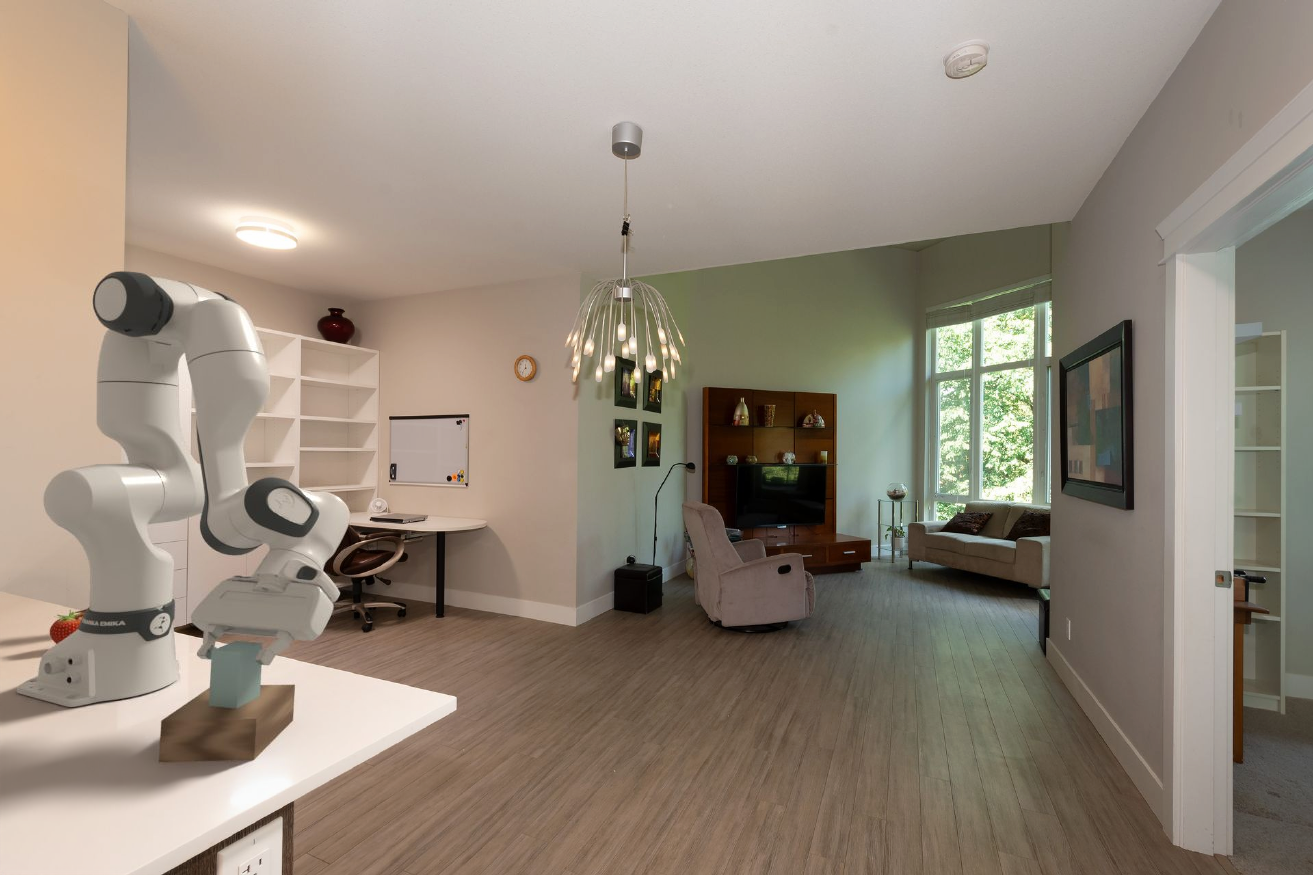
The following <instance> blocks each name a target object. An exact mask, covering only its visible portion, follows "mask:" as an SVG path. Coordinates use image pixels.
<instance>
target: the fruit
mask: <svg viewBox="0 0 1313 875" xmlns="http://www.w3.org/2000/svg"><path fill="white" fill-rule="evenodd" d="M71 611H72V610H71V609H69V613H68V615H61V614H56V616H53V617H55V618H58V619H57V620H55V621H54V622H53V624H52V625H51V626H50V628H49V636H50V637H49V638H51V640H52V641H53V642H54V644H55V645H56V644H58V643H59V642H61V641H62V640H64V639H65V638H67V637H68V636H69V635H71V634H72V633H74V632H75V631H76V630H78V626H79V624H80V622H81V620H82V617H80V618H74V617H76V616H78V615H80V614H82V613H83V612H81V613H75V611H72V612H71Z"/></svg>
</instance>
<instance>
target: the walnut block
mask: <svg viewBox="0 0 1313 875" xmlns="http://www.w3.org/2000/svg"><path fill="white" fill-rule="evenodd" d="M295 688H296V684H261V686H260V696H259V697H257V698H255V699H253V700H252V701H250V702H248V703H246V704H244V705H242V706H241V707H239V708H237V709H236V708H226V707H216V706H209V693H210V687H208V688H207V689H205V690H204V691H202V692H201V693H200V694H198V695H197V696H195V697H193V698H192V699H191V700H189V701H188V702H186V703H185V704H183V705H182V706H181V707H179V708H178V709H176V710H175V711H173V712H171V713H170V714H169V715H167V716H165V718H163V719H162V720H161V721H160V736H159V756H158V763H159V762H164V763H189V762H190V763H192V762H193V763H194V762H225V761H226V762H228V761H255V760H256V759H257V758H258V757H259V755H261V754H262V753H263V752H264V750H265V749H266V748H268V747H269V746H270V744H272V743H273V741H275V740H276V739H277V737H278V736H279V735H280V734H281V733H282V732H283V731H284V730H285V729H286V728H288V726H289V725H290V724H291V723H292V722H293V721H294V710H295V709H294V708H295V691H296V689H295Z"/></svg>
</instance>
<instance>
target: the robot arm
mask: <svg viewBox="0 0 1313 875" xmlns="http://www.w3.org/2000/svg"><path fill="white" fill-rule="evenodd" d="M92 307H93V310H94V313H95V314H94V315H95V316H96V317H97V320H98V322H100V323H101V325H103V327H105V329H106V328H107V331H106V332H105V333H104V336H103V340H102V343H101V347H100V352H99V356H98V362H97V371H96V426H97V427H98V429H99V431H100V432H101V433H102V434H103V435H104V436H106V437H108V438H109V439H112V440H113V441H115V442H117V443H118V444H119V445H120V446H121V448H122V449H123V451H124V452H125V455H126V457H127V461H128V463H104V464H103V463H100V464H98V463H97V464H92V465H91V464H90V465H86V466H85V465H84V466H80V467H75V468H72V469H71V468H70V469H66V470H63V471H61V472H59V473H57V474H55V476H54V477H52V479H51V480H50V481H49V482H48V484H47V485H46V488H45V490H44V493H43V507H44V510H45V513H46V515H47V516H48V517H49V518H50V520H51V521H52V522H53V523H54V524H55V525H57V526H59V527H61V528H62V529H63V530H66V531H68V532H69V533H70V534H71V535H73V536H74V537H75V539H76V540H78V542H79V544H80V545H81V546H82V548H83V550H84V552H85V554H86V557H87V560H88V565H89V580H90V581H89V607H87V608H85V609H80V610H78V611H74V614H79V613H81V612H83V613H82V614H80V615H78V616H76V617H74V618H80V617H82V620H81V622H80V624H79V626H78V630H76V631H75V632H74V633H72V634H71V635H69V636H68V637H67V638H65V639H64V640H62V641H61V642H59V643H58V644H56V643H55V645H53V646H52V647H51V648H49V649H48V650H46V651H45V652H44V653H43V654H42V656H41V659H40V661H39V666H38V671H37V672H38V673H37V676H34V677H33V678H30V679H28V680H26V681H24V682H22V683H21V684H19V685H18V686H17V688H16V691H15V692H16V693H17V694H20V695H24V696H27V697H31V698H34V699H38V700H42V701H44V702H50V703H53V704H57V705H60V706H64V707H69V708H74V707H81V706H86V705H89V704H93V703H99V702H107V701H114V700H120V699H121V700H122V699H126V698H130V697H136V696H140V695H145V694H148V693H152V692H154V691H157V690H160V689H162V688H165V687H167V686H169V685H171V684H173V683H174V682H176V681H177V680H178V679H179V678H180V672H179V667H180V661H179V660H177V655H176V654H177V653H176V642H175V629H174V625H173V622H174V620H175V617H176V616H175V614H176V609H177V608H176V600H175V599H174V598H173V592H174V573H175V560H174V558H173V556H172V554H171V553H169V552H168V551H166V550H165V549H163V548H160V547H159V546H155V545H154V544H153V543H152V541H151V539H150V537H149V533H148V525H152V524H154V525H155V524H163V523H169V522H178V521H181V520H185V519H188V518H192V517H195V516H197V515H200V514H201V515H200V520H199V530H200V534H201V538H202V539H203V540H204V542H205V544H207V545H208V546H209V547H210V548H211V549H212V550H214V551H216V552H218V553H220V554H223V555H226V556H227V555H228V556H243V555H247V554H249V553H251V552H253V551H254V550H257V549H258V548H259V547H261V546H262V545H263V544H265V545H267V546H268V547H269V551H268V553H266V555H265V557H264V558H263V559H262V561H261V562H260V564H259V565H258V566H257V568H256V569H255V571H254V572H253V573H252V575H251V576H242V575H233V576H231V577H229V578H227V579H223V580H222V581H220V583H219V584H217V585H216V586H215V587H214V588H213V589H212V590H211V591H210V592H209V593H208V594H207V595H206V596H205V597H204V599H202V601H200V603H199V604H198V605H197V606H196V607H195V609H194V610H193V611H192V612H191V616H190V618H191V619H190V620H191V623H192V624H193V625H194V626H196V628H198V629H199V630H201V631H202V632H203V635H202V638H203V639H202V644H201V645H200V647H199V649H198V650H197V652H196V656H197V657H198V658H199V659H201V660H207V661H208V660H209V661H210V660H211V655H212V650H214V649H217V648H218V647H215V645H216V640H217V639H218V640H219V639H221V638H222V636H223V635H224V634H230V635H241V636H252V637H262V638H273V639H275V640H274V641H273V642H272V643H271V644H270V645H269V646H268V647H266V648H262V649H261V650H260V651H259V653H258V655H257V656H256V658H255V661H256V662H257V663H258V664H260V665H262V666H270V665H271V664H272V662H273V660H274V659H275V657H276V656H278V654H280V653H281V652H283V651H284V650H286V649H287V648H288V647H289V646H290V645H291V643H292V642H293V640H295V641H304V642H305V641H306V642H313V641H314V640H316V639H317V638H319V637H320V636H321V635H322V633H323V632H324V630H325V629H326V626H327V624H328V622H329V620H330V618H331V616H332V614H333V611H334V603H336V601H338V599H339V597H340V595H341V592H340V590H339V588H338V587H337V585H336V584H335V582H334V581H333V580H332V579H331V578H330V576H329V575H328V574H327V573H326V572H325V571H324V568H325V566H326V563H327V561H328V560H329V559H331V557H333V556H334V554H335V553H336V551H337V549H338V547H339V546H340V544H341V542H342V541H343V539H344V536H345V534H346V532H347V530H348V527H349V525H350V524H349V523H350V518H351V512H350V509H349V506H348V505H347V504H346V503H345V502H344V500H343V499H342V498H340V497H339V496H338V495H336V494H333V493H331V492H328V491H323V490H322V491H312V490H308V489H304V488H300V487H298V486H296V485H295V484H293V483H291V482H290V481H288V480H287V479H284V478H279V477H275V476H273V477H272V476H271V477H270V476H269V477H263V478H260V479H258V480H256V481H254V482H252V483H250V484H249V482H248V481H249V480H248V474H247V467H246V459H245V454H244V452H245V451H244V445H245V439H246V436H247V433H248V431H249V429H250V427H251V425H252V424H253V422H254V420H255V419H256V417H257V415H259V413H260V411H261V410H262V409H263V407H264V406H265V405H266V404H267V402H268V400H269V398H270V395H271V374H270V367H269V365H268V361H267V357H266V355H265V350H264V347H263V344H262V342H261V339H260V337H259V334H258V332H257V329H256V327H255V325H254V323H253V321H252V319H251V317H250V315H249V314H248V312H247V311H246V310H245V309H244V307H243V306H241V305H240V304H239V303H238V302H237V301H235V299H232V298H231V297H230V296H227V295H225V294H224V293H223V294H222V293H221V292H217V291H211V290H209V289H207V288H204V287H201V286H198V285H194V284H192V283H189V282H186V281H181V280H172V279H168V278H164V277H156V276H150V275H147V274H146V273H142V272H138V271H124V270H122V271H120V270H119V271H112V272H110V273H108V274H107V275H105V276H104V277H103V278H102V279H101V280H100V281H99V282H98V283H97V285H96V286H95V289H94V292H93V296H92ZM183 355H184V356H185V361H186V365H187V369H188V375H189V378H190V382H191V388H192V393H193V394H192V395H193V398H194V400H193V401H194V408H195V422H196V423H195V424H196V427H195V428H196V440H197V448H198V449H197V450H198V456H199V463H198V462H197V461H196V459H195V458H194V456H192V454H191V452H190V450H189V449H188V446H187V445H186V442H185V439H184V436H183V433H182V428H181V423H180V421H181V420H180V396H179V395H180V394H179V391H180V387H179V385H180V384H179V381H180V379H179V377H180V376H179V364H180V363H179V362H180V359H181V358H182V356H183Z"/></svg>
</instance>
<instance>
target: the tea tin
mask: <svg viewBox="0 0 1313 875" xmlns="http://www.w3.org/2000/svg"><path fill="white" fill-rule="evenodd" d="M263 644H264V643H263V642H257V641H256V642H254V641H253V642H252V641H243V640H242V641H241V640H234V641H232V642H230V643H227V644H225V645H223V646H220V647H216V648H217V649H214V650H212V655H211V661H210V677H209V679H210V680H209V688H210V693H209V706H216V707H226V708H236V709H237V708H239V707H241V706H242V705H244V704H246V703H248V702H250V701H252V700H253V699H255V698H257V697H259V696H260V686H261V685H262V682H261V680H262V666H263V665H260V664H258V663H257V662H256V661H255V658H256V656H257V655H258V653H259V651H260V650H261V649H263V648H264V647H263V646H264V645H263Z"/></svg>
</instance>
